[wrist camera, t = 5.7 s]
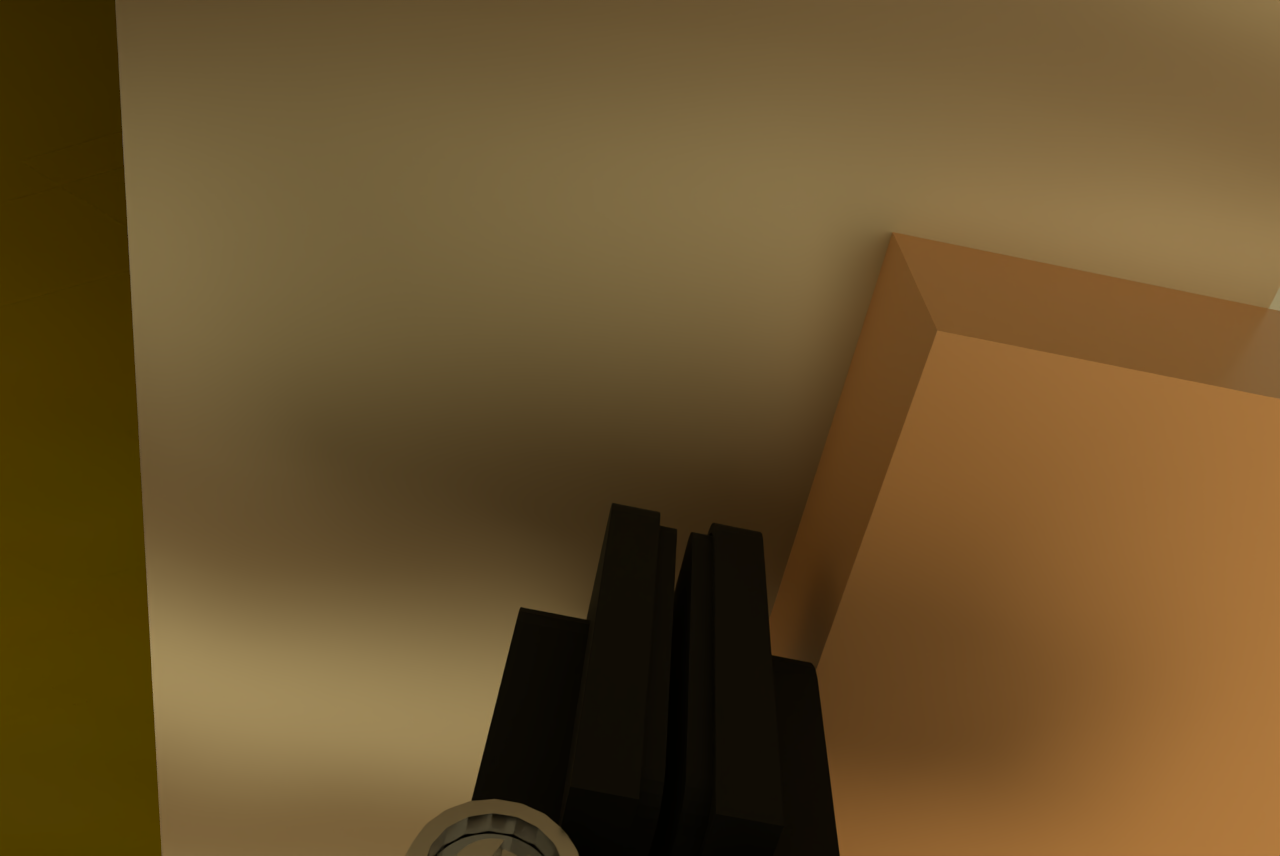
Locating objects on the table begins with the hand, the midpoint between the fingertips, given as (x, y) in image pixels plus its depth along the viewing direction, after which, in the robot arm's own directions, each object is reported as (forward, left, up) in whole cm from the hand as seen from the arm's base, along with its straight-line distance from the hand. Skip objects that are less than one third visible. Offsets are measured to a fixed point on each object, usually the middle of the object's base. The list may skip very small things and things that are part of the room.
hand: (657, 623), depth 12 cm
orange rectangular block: (0, +4, -1) cm, 5 cm away
